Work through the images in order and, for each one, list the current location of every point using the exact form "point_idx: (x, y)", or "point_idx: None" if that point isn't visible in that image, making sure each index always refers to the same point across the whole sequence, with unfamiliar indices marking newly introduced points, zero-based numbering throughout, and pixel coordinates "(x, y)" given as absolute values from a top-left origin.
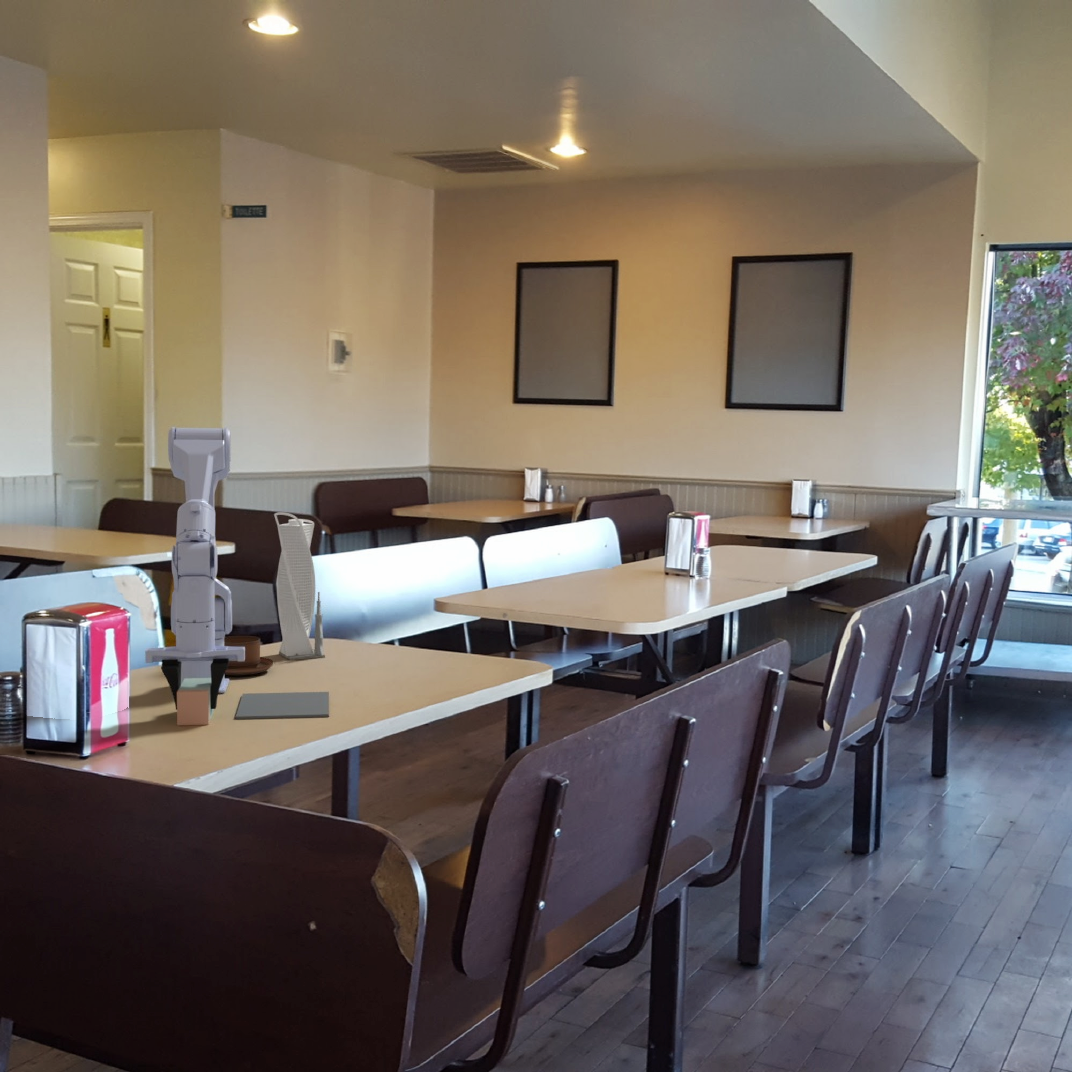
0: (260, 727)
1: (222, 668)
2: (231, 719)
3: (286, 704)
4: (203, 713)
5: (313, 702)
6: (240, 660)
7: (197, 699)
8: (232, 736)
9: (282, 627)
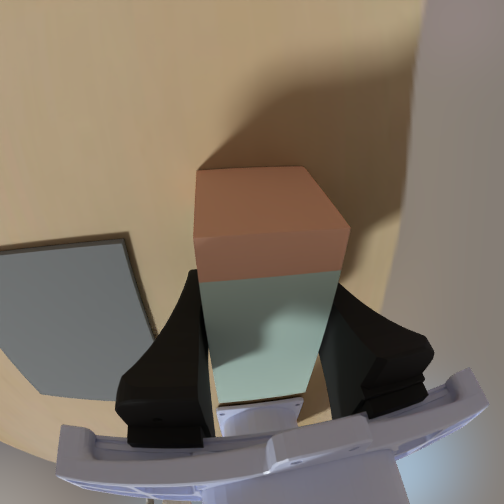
0: (25, 143)
1: (132, 384)
2: (136, 237)
3: (54, 341)
4: (215, 186)
5: (18, 347)
6: (73, 429)
7: (245, 212)
8: (87, 14)
9: (188, 501)
